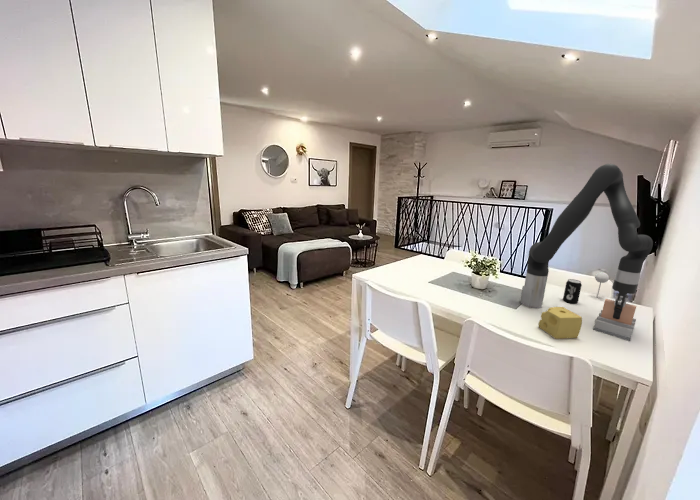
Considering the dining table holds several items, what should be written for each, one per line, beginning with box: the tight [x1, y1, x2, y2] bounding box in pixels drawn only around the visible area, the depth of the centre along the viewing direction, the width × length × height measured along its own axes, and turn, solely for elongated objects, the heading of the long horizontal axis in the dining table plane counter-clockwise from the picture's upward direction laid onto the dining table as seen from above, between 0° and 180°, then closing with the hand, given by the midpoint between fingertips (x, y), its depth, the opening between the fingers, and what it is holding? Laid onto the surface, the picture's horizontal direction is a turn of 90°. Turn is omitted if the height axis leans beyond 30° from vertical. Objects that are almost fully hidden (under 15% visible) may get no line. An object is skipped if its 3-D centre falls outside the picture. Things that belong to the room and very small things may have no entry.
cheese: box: [538, 306, 583, 340], centre depth 123 cm, size 10×11×10 cm
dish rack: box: [592, 309, 637, 342], centre depth 127 cm, size 17×12×4 cm
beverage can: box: [562, 278, 583, 305], centre depth 154 cm, size 7×7×12 cm
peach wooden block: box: [601, 298, 637, 325], centre depth 126 cm, size 2×10×10 cm, turn 42°
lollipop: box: [594, 271, 610, 299], centre depth 159 cm, size 6×6×15 cm
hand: (616, 317), depth 127 cm, fingers closed on peach wooden block, 2 cm apart
